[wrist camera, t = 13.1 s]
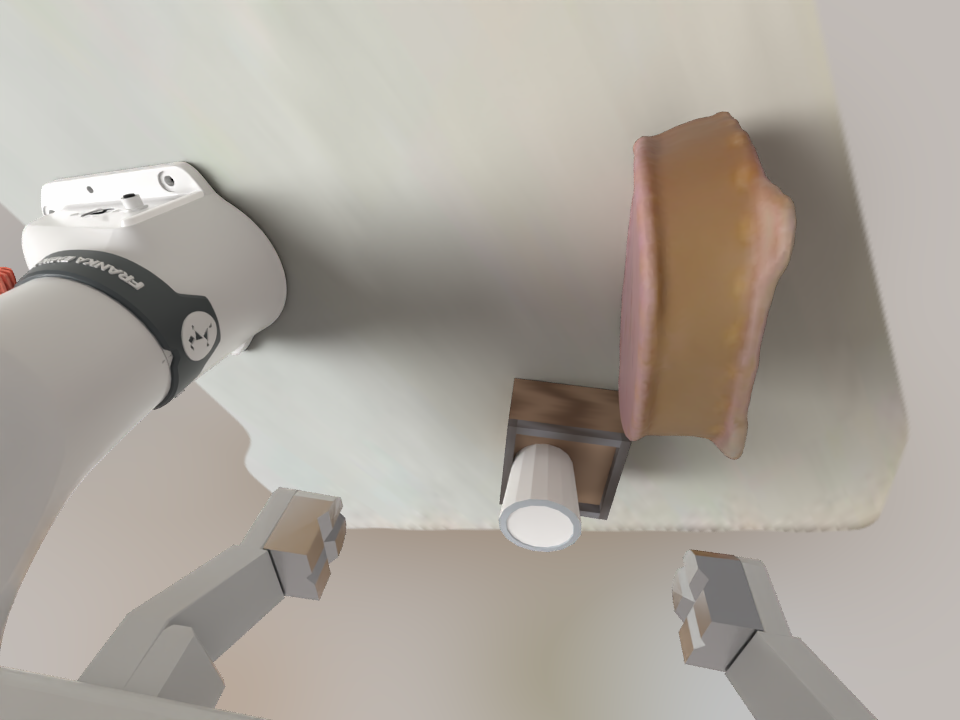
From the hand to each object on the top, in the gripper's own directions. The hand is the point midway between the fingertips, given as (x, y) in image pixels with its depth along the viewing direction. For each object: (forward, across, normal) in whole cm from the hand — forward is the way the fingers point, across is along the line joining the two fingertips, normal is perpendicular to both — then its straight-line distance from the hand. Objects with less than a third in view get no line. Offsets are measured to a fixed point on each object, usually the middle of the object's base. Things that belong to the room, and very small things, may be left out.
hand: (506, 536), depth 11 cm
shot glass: (+25, -3, +24) cm, 35 cm away
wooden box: (+31, -4, +24) cm, 40 cm away
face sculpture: (+31, -9, +4) cm, 33 cm away
